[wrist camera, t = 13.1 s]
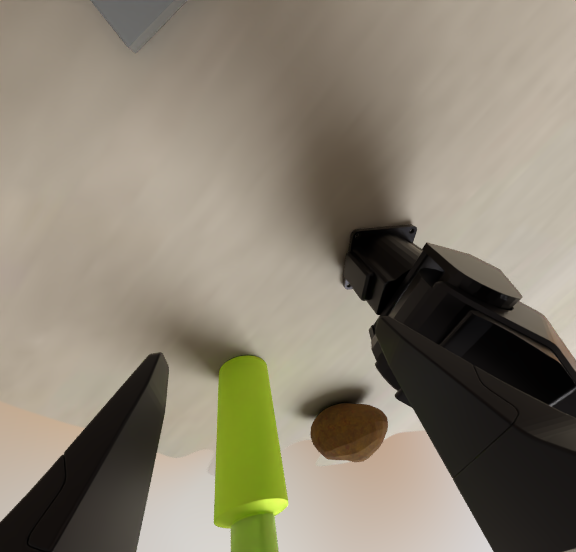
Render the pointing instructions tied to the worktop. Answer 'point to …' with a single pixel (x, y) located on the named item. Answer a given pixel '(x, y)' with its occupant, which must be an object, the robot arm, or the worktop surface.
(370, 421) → the potato
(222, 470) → the soap dispenser
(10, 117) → the worktop surface
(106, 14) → the housing
